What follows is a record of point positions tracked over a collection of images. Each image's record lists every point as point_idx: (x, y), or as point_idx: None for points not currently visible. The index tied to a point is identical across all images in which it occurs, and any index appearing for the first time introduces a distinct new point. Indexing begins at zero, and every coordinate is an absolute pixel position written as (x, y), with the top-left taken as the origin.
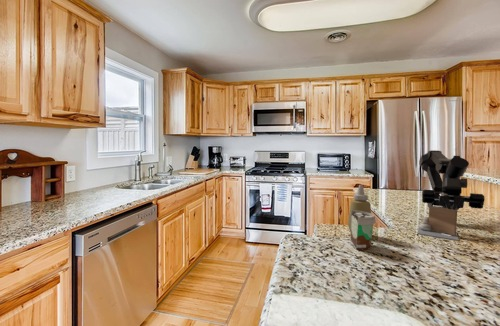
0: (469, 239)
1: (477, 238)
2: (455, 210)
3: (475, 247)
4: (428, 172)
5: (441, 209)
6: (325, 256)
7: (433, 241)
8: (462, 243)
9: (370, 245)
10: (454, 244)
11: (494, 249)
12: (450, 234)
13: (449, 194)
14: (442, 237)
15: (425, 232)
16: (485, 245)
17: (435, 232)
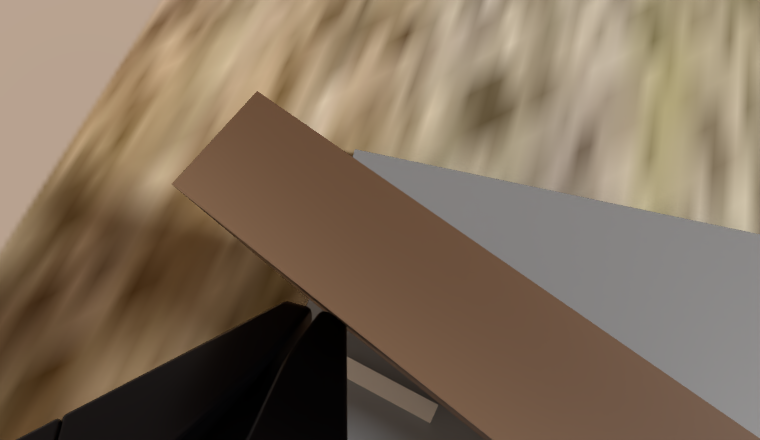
0: (204, 286)
1: (78, 389)
2: (235, 141)
3: (290, 5)
4: None
5: (563, 319)
6: None
7: (617, 17)
8: (353, 80)
9: None
10: (443, 11)
11: (153, 21)
12: (363, 366)
13: None
14: (500, 181)
15: (670, 327)
16: (160, 113)
17: None
